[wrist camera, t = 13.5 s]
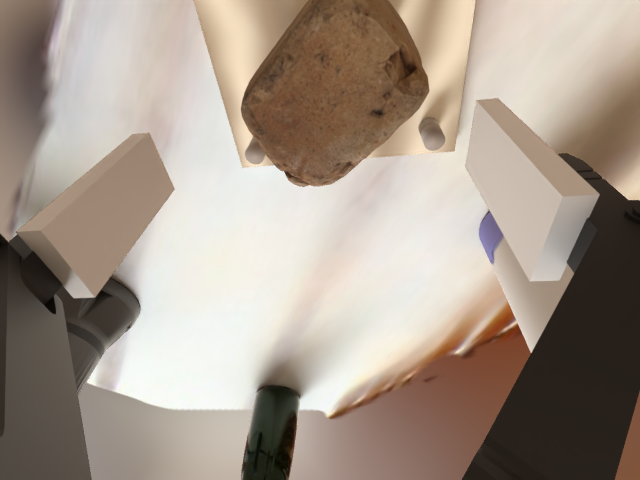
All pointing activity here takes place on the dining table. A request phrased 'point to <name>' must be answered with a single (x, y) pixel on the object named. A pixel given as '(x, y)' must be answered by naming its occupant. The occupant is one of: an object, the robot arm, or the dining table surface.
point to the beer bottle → (271, 435)
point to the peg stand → (276, 16)
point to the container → (522, 284)
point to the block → (334, 89)
